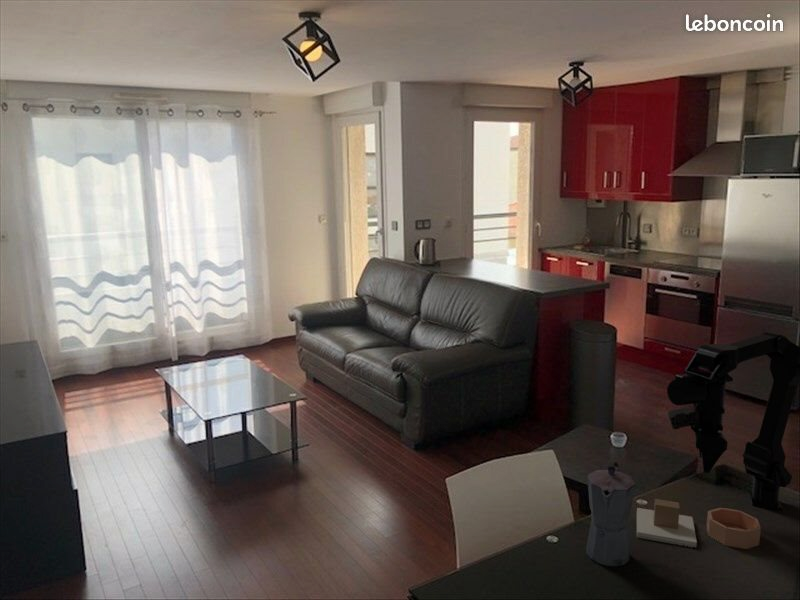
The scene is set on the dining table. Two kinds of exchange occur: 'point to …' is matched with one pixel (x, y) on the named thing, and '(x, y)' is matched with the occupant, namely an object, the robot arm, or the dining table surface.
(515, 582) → the dining table surface
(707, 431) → the robot arm
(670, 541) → the mat
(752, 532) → the bowl
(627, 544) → the moka pot
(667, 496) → the dining table surface
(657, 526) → the cover
